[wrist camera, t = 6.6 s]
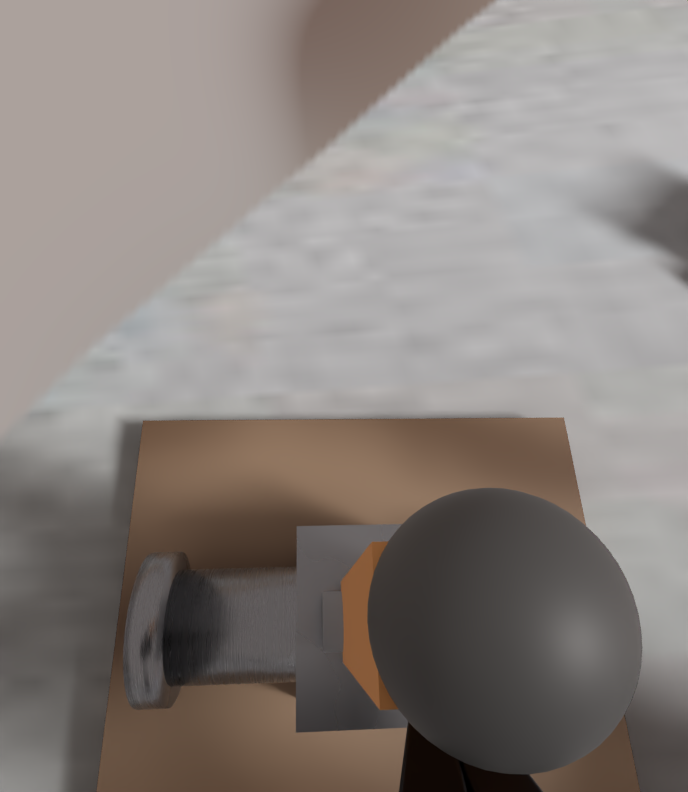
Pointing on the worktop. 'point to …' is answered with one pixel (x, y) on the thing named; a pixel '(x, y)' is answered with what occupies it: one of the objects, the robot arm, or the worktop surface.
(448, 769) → the robot arm
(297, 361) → the worktop surface
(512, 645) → the valve lever
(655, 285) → the worktop surface
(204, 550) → the valve board
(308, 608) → the valve
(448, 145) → the worktop surface
